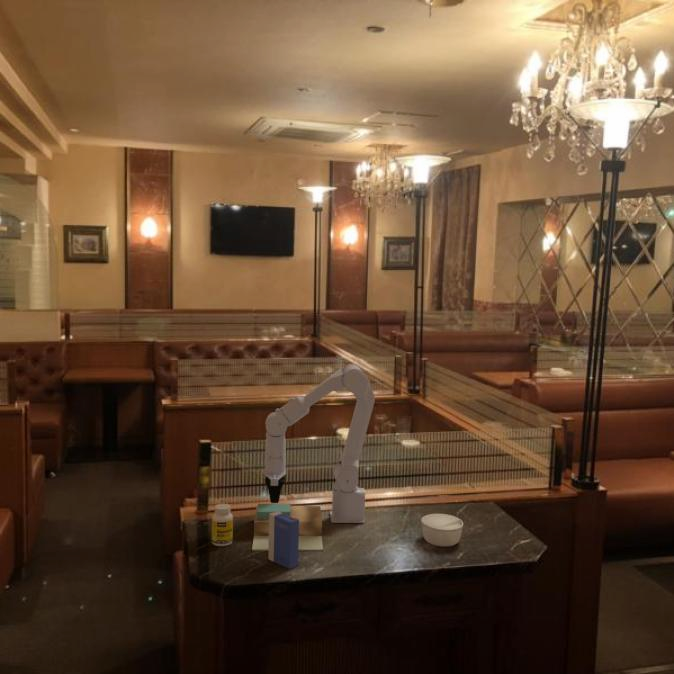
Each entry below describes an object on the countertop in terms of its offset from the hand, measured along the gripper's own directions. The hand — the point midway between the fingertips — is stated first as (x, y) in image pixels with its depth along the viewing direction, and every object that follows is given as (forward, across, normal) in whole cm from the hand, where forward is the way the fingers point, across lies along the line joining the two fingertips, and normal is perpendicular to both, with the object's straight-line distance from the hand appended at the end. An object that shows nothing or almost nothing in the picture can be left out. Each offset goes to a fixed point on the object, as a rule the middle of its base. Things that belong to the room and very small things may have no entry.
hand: (274, 502), depth 195 cm
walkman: (+5, +28, +3) cm, 29 cm away
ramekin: (+5, +14, +45) cm, 47 cm away
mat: (+5, +17, +4) cm, 18 cm away
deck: (+5, +6, +4) cm, 9 cm away
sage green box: (+1, +7, 0) cm, 7 cm away
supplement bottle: (+5, +16, -13) cm, 21 cm away
